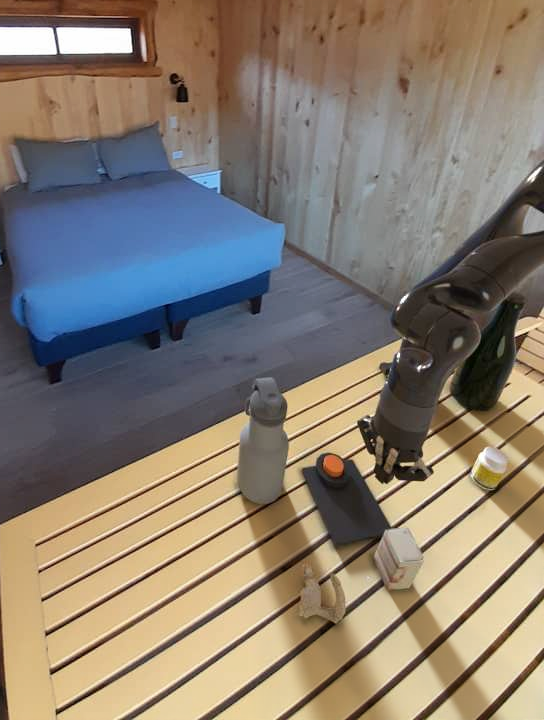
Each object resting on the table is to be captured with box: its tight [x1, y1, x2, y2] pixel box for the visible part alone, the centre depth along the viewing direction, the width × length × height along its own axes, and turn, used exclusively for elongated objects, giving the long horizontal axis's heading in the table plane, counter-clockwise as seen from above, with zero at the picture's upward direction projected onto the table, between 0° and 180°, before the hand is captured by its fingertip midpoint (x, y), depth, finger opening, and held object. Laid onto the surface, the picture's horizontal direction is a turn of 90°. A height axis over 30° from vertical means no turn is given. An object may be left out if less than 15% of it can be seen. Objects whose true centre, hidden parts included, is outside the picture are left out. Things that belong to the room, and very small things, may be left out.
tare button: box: [323, 455, 344, 478], centre depth 86 cm, size 4×4×2 cm
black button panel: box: [301, 452, 393, 548], centre depth 83 cm, size 16×12×3 cm
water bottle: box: [236, 377, 290, 505], centre depth 81 cm, size 10×10×28 cm
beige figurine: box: [297, 563, 347, 624], centre depth 67 cm, size 9×6×10 cm
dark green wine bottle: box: [448, 291, 526, 413], centre depth 99 cm, size 10×10×33 cm
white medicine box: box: [373, 526, 426, 591], centre depth 70 cm, size 5×4×10 cm
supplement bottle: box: [470, 446, 509, 491], centre depth 85 cm, size 5×5×8 cm
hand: (381, 478), depth 70 cm, fingers closed
